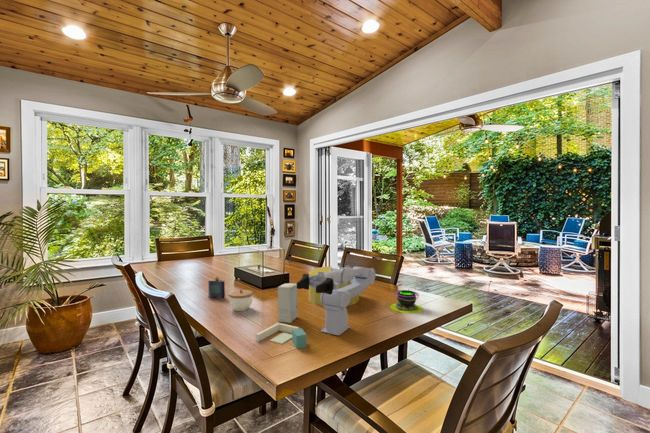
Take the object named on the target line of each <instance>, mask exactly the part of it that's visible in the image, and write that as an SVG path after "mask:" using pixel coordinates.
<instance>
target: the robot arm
mask: <svg viewBox="0 0 650 433" xmlns="http://www.w3.org/2000/svg"><path fill="white" fill-rule="evenodd" d="M375 279H376V270H375V269H374V268H373V267H371V268H369V267H363V266H353V267H351V266H350V265H345V266H344V267H343V266H341V267H339V268H333V267H332V268H331V269H330V271H329V272H326V273H324V272H321V271H319V272H318V275H314V276H309V273H303V274H302V277H301V278H300V279H299V280H298V281H297V282H296V284H297V290H302V289H303V290H307V291H309V285H310V286H311V287H313V288H314V289H316V293H321V298H320V299H321V303H322V305H324V306H323V308H324V312H325V313H324V316H325V317H324V324H325V325H324V328H322V329H321V330H320V332H321V333H326V334H330V335H333V336H340V335H343V333H344V332H346V331H347V330H348V329H350V325H348V310H347V307H348V306H347V305H348V304H349V303H350V299H351V298H353V297H355V296H357V295H359V296H360V295H361V294H363V293H364V291H366V289H367V288H368V287H369V286H370V285H373V284H374V282H375ZM350 280H351V284H350V285H348V286H345V287H343V288H340V289H339V284H345V285H346V284H347V282H348V281H350ZM333 289H334V290H333Z"/></svg>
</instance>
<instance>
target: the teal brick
mask: <svg viewBox="0 0 650 433" xmlns="http://www.w3.org/2000/svg"><path fill="white" fill-rule="evenodd" d="M291 340H292V344H293V345H294V347H295V348H296V349H304V348H307V333H306V332H305V331H304V329H303V328H302V327H301V328H300V327H299V329H292V338H291Z"/></svg>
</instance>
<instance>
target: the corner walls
mask: <svg viewBox="0 0 650 433" xmlns="http://www.w3.org/2000/svg"><path fill="white" fill-rule="evenodd" d="M292 329H300V326H294V325H290V324H288V323H283V322H279V321H278V322H276V323H275V324H272V325H271V326H269V327H267V328H265V329H263V330H261V331H259V332H257V333H255V341H256V342H257V343H258V342H259V343H260V342H261V341H262V340H264V339H266V338H268V337H270V336H272V335H273V334H275V333H277V332H278V331H279V332H280V331H281V332H282V333H288V334H292Z"/></svg>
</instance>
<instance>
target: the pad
mask: <svg viewBox="0 0 650 433" xmlns="http://www.w3.org/2000/svg"><path fill="white" fill-rule="evenodd" d="M289 340H292V334H291V333H287V332H282V333H279V334H277V335H276V336H274V337H273V338H271V339H269V342H272V343H276V344H281V345H283V344H284V343H286V342H288V341H289Z"/></svg>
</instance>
